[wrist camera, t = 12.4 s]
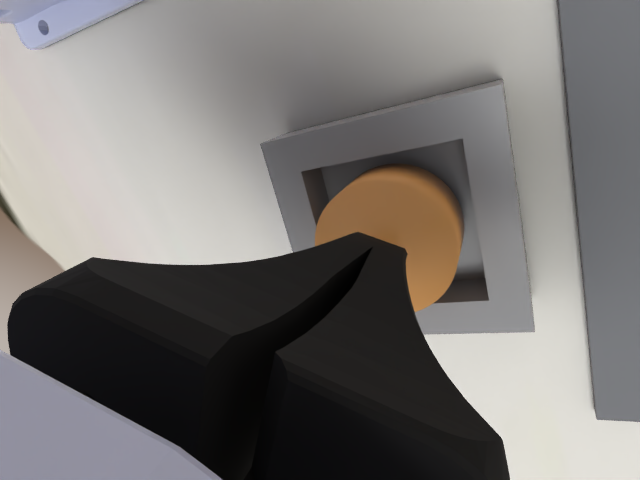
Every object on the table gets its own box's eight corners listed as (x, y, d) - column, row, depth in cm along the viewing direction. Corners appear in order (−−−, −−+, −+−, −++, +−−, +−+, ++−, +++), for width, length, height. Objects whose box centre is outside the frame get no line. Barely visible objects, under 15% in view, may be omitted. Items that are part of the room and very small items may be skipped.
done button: (353, 287, 15) (333, 317, 14) (324, 176, 14) (298, 194, 12) (474, 278, 14) (469, 312, 12) (452, 151, 12) (443, 168, 11)
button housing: (336, 308, 17) (318, 336, 16) (287, 132, 15) (260, 144, 14) (531, 298, 14) (534, 331, 13) (502, 78, 12) (501, 84, 11)
